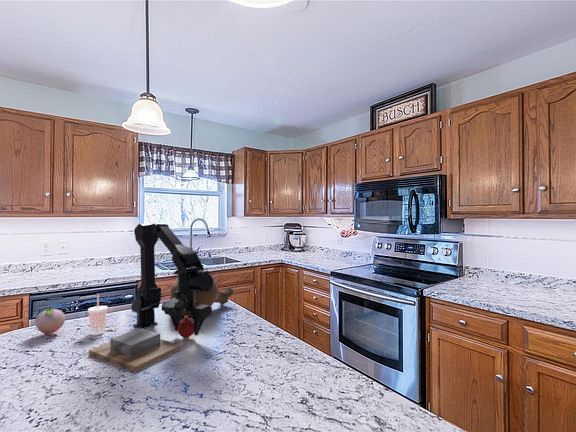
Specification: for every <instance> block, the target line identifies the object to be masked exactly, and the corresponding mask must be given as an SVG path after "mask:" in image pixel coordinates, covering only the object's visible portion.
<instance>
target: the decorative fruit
mask: <svg viewBox="0 0 576 432" xmlns="http://www.w3.org/2000/svg"><path fill="white" fill-rule="evenodd" d="M34 321H35V322H34V323H35V327H36V329H37V330H38V331H39V332H40V333H42V334H44V335H46V336H51V335H53V333H55V332H57V331H59V329H60V330H61V328H62V327H63V326H64V324H65V321H66V315H65V313H64V312H63V311H62V310H59V309H55V308H52V307H51V306H49V308H46V309H45V310H43V311H41V312H40V313H39V314H37V316H36V318H35V320H34Z"/></svg>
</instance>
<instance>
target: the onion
mask: <svg viewBox="0 0 576 432" xmlns="http://www.w3.org/2000/svg"><path fill="white" fill-rule="evenodd" d="M177 334H178V335H179V336H180V337H182V338H183V339H184V340H187V339H188V338H190V337H192V335H193V334H194V321H193V320H192V319H191V317H190V318H189V316H184V318H183V319H181V320H180V323H179V325H178V329H177Z"/></svg>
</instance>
